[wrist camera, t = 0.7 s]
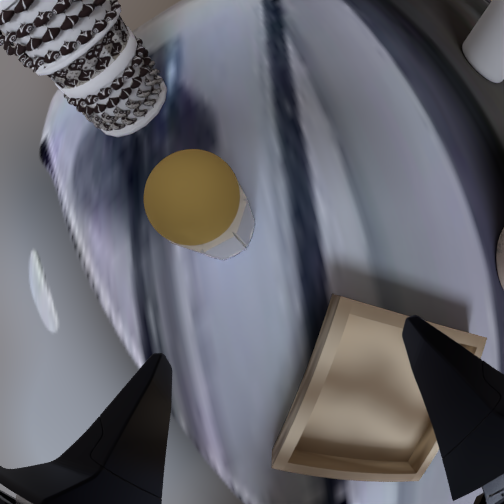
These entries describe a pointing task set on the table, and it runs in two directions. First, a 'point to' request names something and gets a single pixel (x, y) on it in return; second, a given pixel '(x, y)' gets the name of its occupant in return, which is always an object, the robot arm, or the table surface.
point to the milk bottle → (487, 43)
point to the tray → (361, 401)
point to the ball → (191, 197)
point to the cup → (230, 235)
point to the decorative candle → (87, 59)
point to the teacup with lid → (500, 258)
